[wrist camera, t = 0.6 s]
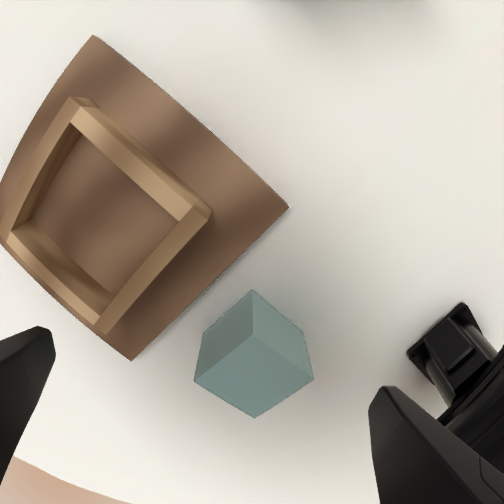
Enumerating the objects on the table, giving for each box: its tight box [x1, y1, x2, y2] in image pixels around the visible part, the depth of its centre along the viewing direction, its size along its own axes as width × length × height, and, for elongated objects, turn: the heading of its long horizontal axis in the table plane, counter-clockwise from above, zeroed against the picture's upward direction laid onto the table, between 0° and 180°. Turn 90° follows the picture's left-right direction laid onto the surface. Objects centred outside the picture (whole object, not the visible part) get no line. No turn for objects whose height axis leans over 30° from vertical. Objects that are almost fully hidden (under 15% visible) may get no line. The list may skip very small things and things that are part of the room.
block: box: [194, 290, 314, 418], centre depth 20 cm, size 5×5×5 cm
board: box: [0, 35, 289, 361], centre depth 17 cm, size 16×16×4 cm
